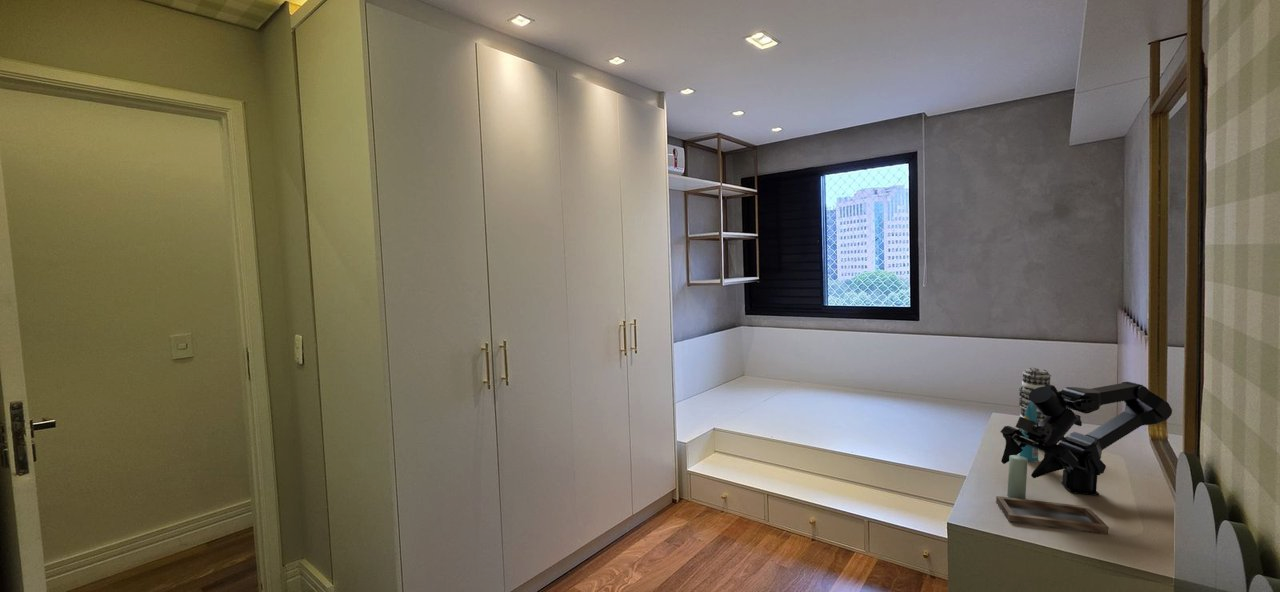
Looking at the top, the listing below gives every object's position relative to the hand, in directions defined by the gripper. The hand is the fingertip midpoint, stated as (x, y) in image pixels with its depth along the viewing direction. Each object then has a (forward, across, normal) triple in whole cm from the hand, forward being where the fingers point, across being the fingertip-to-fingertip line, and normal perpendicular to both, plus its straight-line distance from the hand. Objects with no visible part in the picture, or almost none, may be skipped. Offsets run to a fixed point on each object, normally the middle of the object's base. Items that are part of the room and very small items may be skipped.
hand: (1017, 469), depth 145 cm
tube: (-12, -20, +24) cm, 33 cm away
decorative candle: (-23, -33, +34) cm, 52 cm away
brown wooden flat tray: (+6, +11, +5) cm, 13 cm away
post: (+5, 0, +6) cm, 8 cm away
